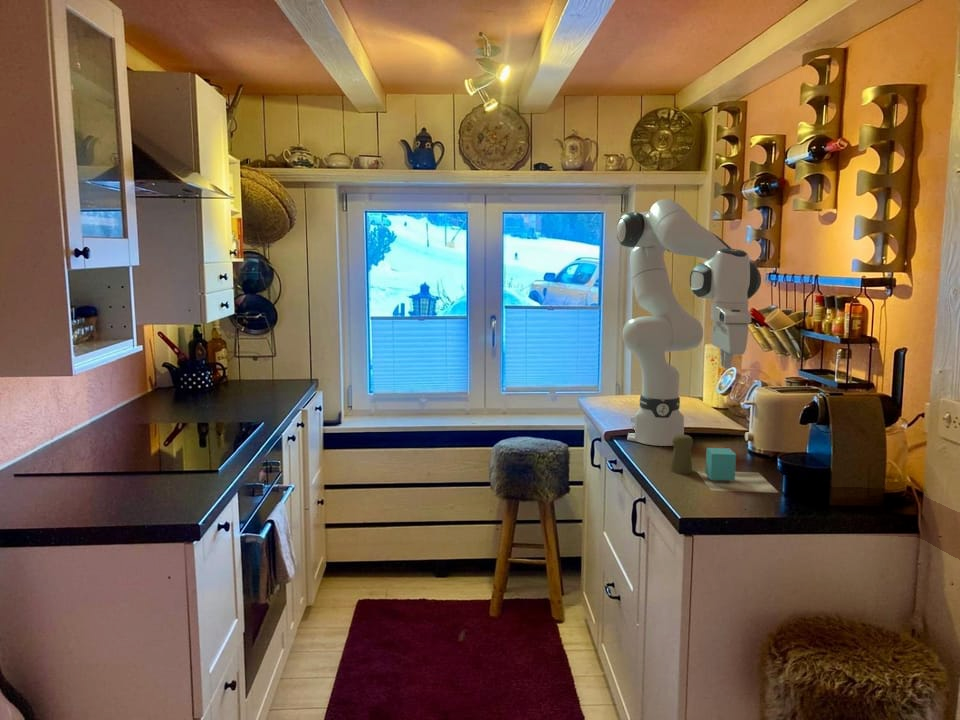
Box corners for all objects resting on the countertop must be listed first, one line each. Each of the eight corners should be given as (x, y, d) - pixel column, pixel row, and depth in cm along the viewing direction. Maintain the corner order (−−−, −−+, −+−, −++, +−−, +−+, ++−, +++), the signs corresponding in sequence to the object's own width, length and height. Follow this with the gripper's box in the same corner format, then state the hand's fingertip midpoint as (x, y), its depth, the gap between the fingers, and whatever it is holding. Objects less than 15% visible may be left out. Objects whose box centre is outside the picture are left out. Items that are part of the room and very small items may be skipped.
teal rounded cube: (705, 472, 186) (706, 447, 185) (728, 473, 186) (730, 448, 185) (710, 479, 181) (712, 453, 180) (734, 480, 180) (736, 454, 179)
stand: (696, 476, 192) (697, 444, 190) (758, 478, 191) (760, 446, 189) (710, 496, 176) (712, 462, 175) (778, 498, 175) (781, 464, 174)
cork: (674, 471, 196) (676, 431, 194) (696, 475, 192) (698, 435, 191) (665, 476, 191) (667, 435, 190) (686, 481, 188) (689, 439, 186)
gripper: (706, 310, 195) (704, 361, 197) (726, 316, 175) (723, 373, 177) (730, 310, 195) (727, 361, 197) (753, 317, 175) (749, 374, 177)
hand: (725, 367), depth 187 cm, fingers closed
